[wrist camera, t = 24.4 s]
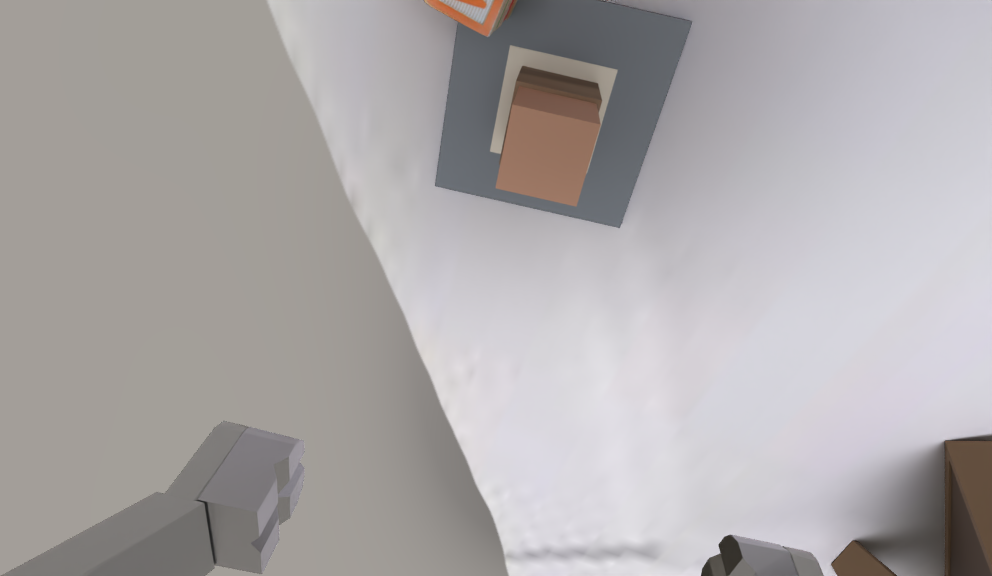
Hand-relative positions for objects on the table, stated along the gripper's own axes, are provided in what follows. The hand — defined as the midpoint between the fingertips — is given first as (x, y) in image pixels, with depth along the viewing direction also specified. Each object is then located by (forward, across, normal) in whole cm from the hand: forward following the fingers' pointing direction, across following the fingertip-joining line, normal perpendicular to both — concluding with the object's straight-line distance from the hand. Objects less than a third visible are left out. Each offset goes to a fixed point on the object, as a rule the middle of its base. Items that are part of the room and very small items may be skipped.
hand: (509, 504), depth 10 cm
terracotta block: (+25, 0, 0) cm, 25 cm away
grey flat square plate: (+31, 0, 0) cm, 31 cm away
